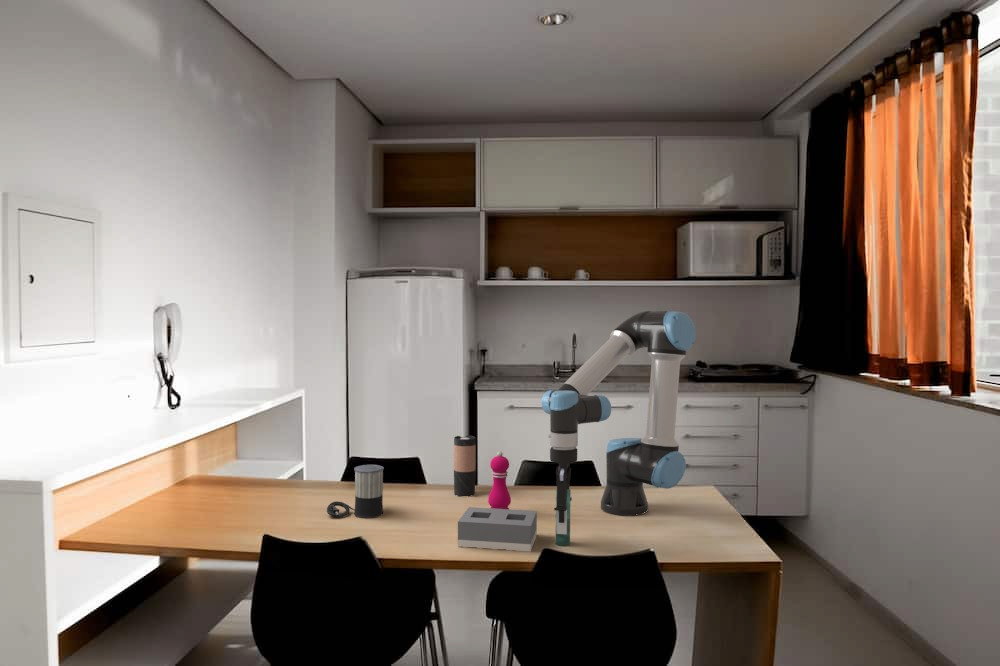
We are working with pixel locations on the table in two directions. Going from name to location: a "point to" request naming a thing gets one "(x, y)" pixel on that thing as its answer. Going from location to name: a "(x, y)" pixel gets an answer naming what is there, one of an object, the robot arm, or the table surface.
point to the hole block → (498, 529)
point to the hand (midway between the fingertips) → (562, 528)
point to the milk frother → (364, 493)
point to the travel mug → (464, 465)
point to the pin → (565, 538)
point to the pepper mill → (499, 483)
